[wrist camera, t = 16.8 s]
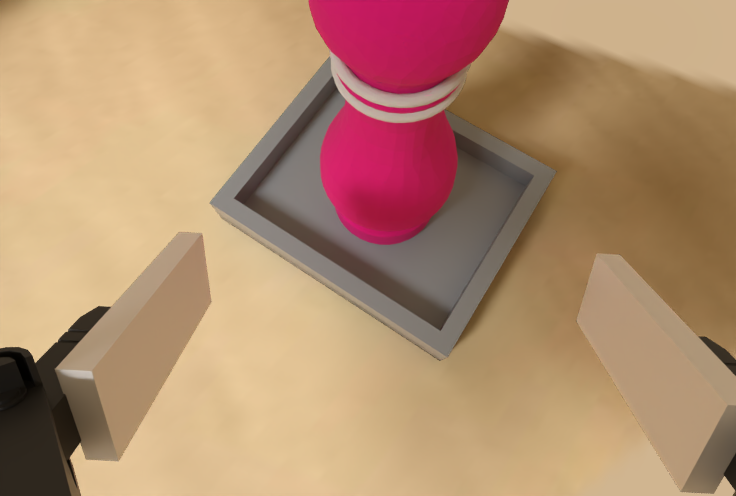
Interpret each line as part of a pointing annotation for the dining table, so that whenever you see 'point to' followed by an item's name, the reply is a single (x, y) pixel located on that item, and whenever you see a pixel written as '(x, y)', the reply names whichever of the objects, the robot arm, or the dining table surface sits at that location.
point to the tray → (397, 261)
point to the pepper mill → (396, 106)
